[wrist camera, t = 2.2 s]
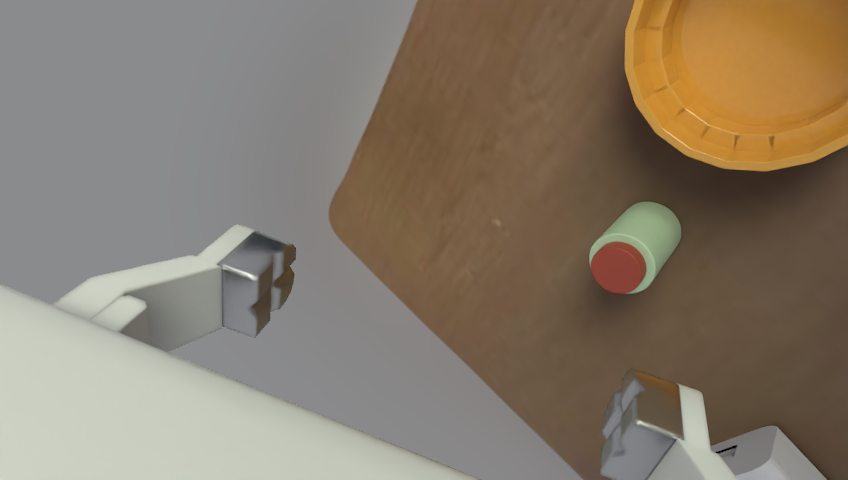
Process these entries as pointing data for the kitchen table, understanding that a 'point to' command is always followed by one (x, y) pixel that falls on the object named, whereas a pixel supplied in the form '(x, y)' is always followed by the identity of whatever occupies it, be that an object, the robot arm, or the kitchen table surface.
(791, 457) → the charger
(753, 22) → the bowl
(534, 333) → the kitchen table surface
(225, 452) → the robot arm
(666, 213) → the container
